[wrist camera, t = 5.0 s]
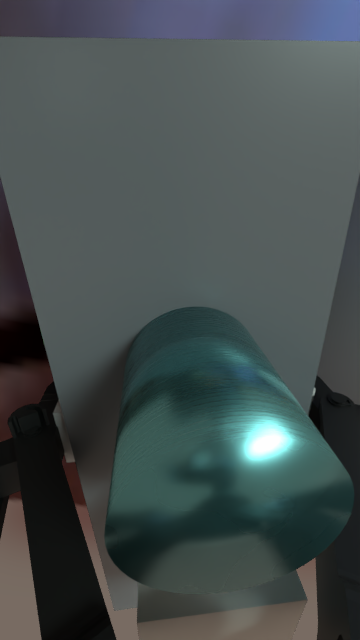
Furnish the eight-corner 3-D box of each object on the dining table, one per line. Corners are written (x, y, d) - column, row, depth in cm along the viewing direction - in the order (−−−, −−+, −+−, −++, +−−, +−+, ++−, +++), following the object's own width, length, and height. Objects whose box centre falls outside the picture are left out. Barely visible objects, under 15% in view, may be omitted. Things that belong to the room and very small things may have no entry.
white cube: (140, 465, 11) (136, 623, 7) (251, 456, 12) (307, 599, 8) (145, 532, 13) (144, 688, 9) (240, 523, 14) (280, 666, 9)
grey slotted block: (66, 121, 13) (-37, 36, 6) (260, 119, 14) (387, 42, 6) (124, 478, 23) (114, 610, 16) (233, 465, 24) (271, 587, 16)
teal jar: (118, 311, 8) (83, 453, 4) (262, 302, 9) (384, 422, 4) (132, 423, 10) (120, 607, 6) (250, 411, 11) (327, 577, 6)
